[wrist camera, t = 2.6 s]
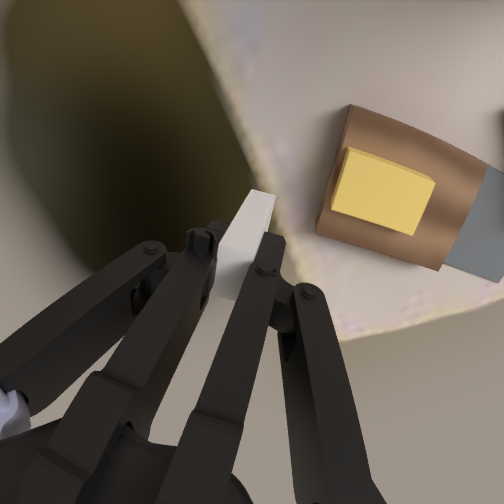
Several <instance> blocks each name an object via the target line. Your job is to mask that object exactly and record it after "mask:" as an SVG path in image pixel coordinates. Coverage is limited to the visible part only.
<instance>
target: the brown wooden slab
mask: <svg viewBox="0 0 504 504" xmlns="http://www.w3.org/2000/svg"><path fill="white" fill-rule="evenodd" d="M348 147H351V148H354V149H357V150H360V151H363V152H366V153H369V154H372V155H375V156H378V157H380V158H383V159H386V160H389V161H391V162H394V163H397V164H399V165H402V166H404V167H407V168H409V169H412V170H414V171H417V172H419V173H422V174H424V175H427V176H429V177H430V178H431V179H432V180H433V181H434V182H435V183H436V184H435V186H434V189H433V191H432V193H431V196H430V198H429V201H428V203H427V205H426V208H425V210H424V212H423V214H422V217H421V219H420V221H419V223H418V226H417V228H416V230H415V232H414V234H413V236H411V235H408V234H406V233H403V232H400V231H397V230H394V229H391V228H388V227H385V226H382V225H379V224H376V223H373V222H370V221H367V220H363V219H360V218H357V217H354V216H351V215H347V214H344V213H341V212H338V211H334V210H331V199H332V196H333V193H334V190H335V187H336V184H337V180H338V177H339V174H340V171H341V168H342V164H343V161H344V158H345V154H346V151H347V148H348ZM487 168H488V165H487V164H485V163H484V162H482V161H481V160H479V159H477V158H476V157H474V156H472V155H470V154H468V153H466V152H465V151H463V150H461V149H459V148H457V147H455V146H453V145H451V144H449V143H447V142H445V141H443V140H441V139H438V138H436V137H434V136H432V135H430V134H428V133H425V132H423V131H421V130H419V129H416V128H414V127H411V126H409V125H407V124H404V123H402V122H399V121H397V120H394V119H392V118H389V117H386V116H384V115H381V114H378V113H375V112H373V111H370V110H367V109H364V108H361V107H358V106H355V105H352V104H350V108H349V112H348V115H347V119H346V122H345V126H344V130H343V133H342V137H341V140H340V144H339V147H338V151H337V154H336V157H335V161H334V164H333V168H332V171H331V174H330V177H329V181H328V184H327V187H326V190H325V194H324V197H323V200H322V203H321V206H320V209H319V212H318V216H317V219H316V224H315V234H318V235H322V236H325V237H329V238H332V239H336V240H339V241H342V242H346V243H349V244H352V245H356V246H359V247H362V248H366V249H369V250H372V251H376V252H379V253H382V254H385V255H388V256H392V257H395V258H398V259H401V260H404V261H407V262H411V263H414V264H417V265H420V266H423V267H426V268H429V269H432V270H435V271H439V269H440V268H441V266H442V264H443V262H444V261H445V259H446V257H447V255H448V253H449V251H450V250H451V248H452V246H453V244H454V242H455V240H456V238H457V236H458V234H459V232H460V230H461V228H462V226H463V224H464V222H465V220H466V218H467V216H468V213H469V211H470V209H471V207H472V205H473V202H474V200H475V198H476V195H477V193H478V191H479V188H480V186H481V183H482V181H483V178H484V176H485V173H486V171H487Z"/></svg>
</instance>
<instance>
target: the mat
mask: <svg viewBox="0 0 504 504" xmlns="http://www.w3.org/2000/svg"><path fill="white" fill-rule="evenodd" d="M482 162H483V161H482ZM484 163H485V162H484ZM485 164H486V163H485ZM487 165H488V164H487ZM443 263H445V264H448V265H450V266H453V267H456V268H459V269H462V270H464V271H467V272H470V273H473V274H475V275H478V276H481V277H483V278H486V279H489V280H491V281H494V282H497V283H499V282H500V280H501V279H502V277H503V275H504V174H503V173H501V172H500V171H498V170H496V169H495V168H493V167H491V166H490V165H488V168H487V171H486V173H485V176H484V178H483V181H482V183H481V186H480V188H479V191H478V193H477V195H476V198H475V200H474V202H473V205H472V207H471V209H470V211H469V213H468V216H467V218H466V220H465V222H464V224H463V226H462V228H461V230H460V232H459V234H458V236H457V238H456V240H455V242H454V244H453V246H452V248H451V250H450V251H449V253H448V255H447V257H446V259H445V261H444V262H443Z"/></svg>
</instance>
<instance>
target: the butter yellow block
mask: <svg viewBox="0 0 504 504" xmlns="http://www.w3.org/2000/svg"><path fill="white" fill-rule="evenodd" d="M435 184H436V183H435V182H434V181H433V180H432V179H431V178H430V177H429V176H427V175H424V174H422V173H419V172H417V171H414V170H412V169H409V168H407V167H404V166H402V165H399V164H397V163H394V162H391V161H389V160H386V159H383V158H380V157H378V156H375V155H372V154H369V153H366V152H363V151H360V150H357V149H354V148H351V147H348V148H347V151H346V154H345V158H344V161H343V164H342V168H341V171H340V174H339V177H338V180H337V184H336V187H335V190H334V193H333V196H332V199H331V210H334V211H338V212H341V213H344V214H347V215H351V216H354V217H357V218H360V219H363V220H367V221H370V222H373V223H376V224H379V225H382V226H385V227H388V228H391V229H394V230H397V231H400V232H403V233H406V234H408V235H411V236H413V234H414V232H415V230H416V228H417V226H418V223H419V221H420V219H421V217H422V214H423V212H424V210H425V208H426V205H427V203H428V201H429V198H430V196H431V193H432V191H433V189H434V186H435Z"/></svg>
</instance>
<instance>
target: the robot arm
mask: <svg viewBox="0 0 504 504" xmlns="http://www.w3.org/2000/svg"><path fill="white" fill-rule="evenodd" d="M275 199H276V195H272V194H268V193H264V192H260V191H257V190H253V189H252V190H251V191H250V193H249V195H248V196H247V198H246V199H245V201H244V203H243V204H242V206H241V208H240V209H239V211H238V213H237V214H236V216H235V218H234V220H233V221H232V223H229V222H225V221H221V220H215V221H213V222H211V223H210V224H209V226H208V227H207V229H205V228H194V229H191V230H189V231H187V234H186V247H185V250H184V251H183V252H166V247H165V245H163V244H162V243H160V242H157V241H145V242H142V243H140V244H139V245H137V246H135V247H134V248H132V249H131V250H129V251H128V252H126V253H125V254H123V255H122V256H120V257H118V258H117V259H115V260H114V261H113V262H111V263H109V264H108V265H106V266H105V267H103V268H102V269H100V270H99V271H98V272H96V273H95V274H93V275H92V276H90V277H89V278H87V279H86V280H84V281H83V282H82V283H80V284H79V285H77V286H76V287H74V288H73V289H72V290H70V291H69V292H67V293H66V294H65V295H63V296H62V297H60V298H59V299H58V300H56V301H55V302H54V303H52V304H51V305H50V306H48V307H47V308H45V309H44V310H43V311H41V312H40V313H39V314H37V315H36V316H35V317H34V318H32V319H31V320H30V321H28V322H27V323H26V324H24V325H23V326H22V327H21V328H19V329H18V330H17V331H15V332H14V333H13V334H12V335H11V336H9V337H8V338H7V339H6V340H4V341H3V342H2V343H0V504H253V502H252V500H251V498H250V496H249V494H248V493H247V491H246V489H245V487H244V486H243V485H242V483H241V482H240V481H239V480H238V479H237V478H236V476H234V475H233V474H232V473H231V472H232V469H233V465H234V462H235V458H236V455H237V451H238V447H239V444H240V440H241V436H242V432H243V427H244V420H245V416H246V412H247V408H248V404H249V401H250V396H251V393H252V389H253V385H254V381H255V377H256V373H257V369H258V365H259V361H260V357H261V353H262V349H263V345H264V341H265V337H266V333H267V328H268V326H270V327H272V328H274V329H276V330H277V331H278V334H277V336H278V343H279V353H280V362H281V369H282V379H283V388H284V397H285V407H286V416H287V426H288V435H289V445H290V455H291V466H292V476H293V486H294V493H295V499H296V503H297V504H387V503H386V502H385V500H384V498H383V497H382V495H381V493H380V492H379V490H378V489H377V487H376V485H375V484H374V482H373V480H372V479H371V474H370V469H369V464H368V459H367V454H366V450H365V445H364V441H363V436H362V432H361V428H360V424H359V419H358V415H357V411H356V407H355V403H354V399H353V395H352V391H351V387H350V383H349V379H348V376H347V372H346V368H345V364H344V361H343V357H342V353H341V350H340V346H339V343H338V339H337V336H336V332H335V329H334V325H333V322H332V318H331V315H330V312H329V308H328V305H327V302H326V299H325V295H324V293H323V292H322V290H321V289H320V288H318V287H317V286H315V285H313V284H310V283H299V284H296V286H293V285H291V284H289V283H288V282H286V281H285V280H284V279H283V278H282V276H281V274H280V268H281V264H282V259H283V254H284V250H285V245H286V241H285V239H284V237H283V236H280V235H276V234H273V233H269V232H267V231H268V227H269V223H270V219H271V215H272V211H273V207H274V203H275ZM211 288H212V294H214V295H218V296H221V297H225V298H228V299H231V300H235V301H236V303H235V305H234V308H233V310H232V313H231V315H230V318H229V321H228V323H227V326H226V329H225V331H224V334H223V336H222V339H221V342H220V344H219V347H218V349H217V352H216V355H215V357H214V360H213V363H212V365H211V368H210V371H209V373H208V376H207V378H206V381H205V383H204V386H203V389H202V391H201V394H200V396H199V399H198V402H197V404H196V407H195V409H194V410H193V411H192V412H191V414H190V416H189V418H188V420H187V423H186V425H185V428H184V431H183V433H182V436H181V438H180V441H179V443H178V446H169V445H162V444H155V443H151V442H149V441H148V437H149V434H150V427H151V424H152V421H153V419H154V417H155V414H156V412H157V410H158V408H159V405H160V403H161V401H162V399H163V397H164V394H165V392H166V390H167V388H168V386H169V384H170V381H171V379H172V377H173V375H174V373H175V371H176V369H177V366H178V364H179V362H180V360H181V358H182V355H183V354H184V351H185V349H186V347H187V345H188V343H189V341H190V338H191V336H192V334H193V332H194V330H195V328H196V326H197V324H198V322H199V319H200V317H201V315H202V313H203V311H204V309H205V307H206V305H207V303H208V300H209V293H210V291H211ZM124 335H125V336H124ZM123 336H124V337H123ZM122 337H123V339H122V341H121V342H120V344H119V345H118V347H117V348H116V350H115V351H114V353H113V354H112V356H111V358H110V359H109V361H108V362H107V364H106V366H105V367H104V368H103V370H101V371H94V372H92V373H91V374H90V375H89V376H88V377H87V378H86V380H85V382H84V383H83V385H82V386H81V388H80V390H79V391H78V393H77V394H76V396H75V398H74V399H73V401H72V403H71V404H70V406H69V408H68V409H67V411H66V413H65V414H64V416H63V418H60V419H58V420H55V421H52V422H50V423H47V424H45V425H42V426H39V427H37V428H34V429H31V430H30V428H31V423H30V417H32V416H34V415H36V414H38V413H39V412H41V411H42V410H43V409H45V408H46V407H47V406H49V405H50V404H51V403H52V402H54V401H55V400H56V399H57V398H58V397H59V396H60V395H61V394H62V393H63V392H64V391H65V390H66V389H67V388H68V387H69V386H70V385H72V384H73V383H74V382H75V381H76V380H77V379H78V378H79V377H80V376H81V375H82V374H83V373H84V372H85V371H86V370H87V369H89V368H90V367H91V366H92V365H93V364H94V363H95V362H96V361H97V360H98V359H99V358H100V357H101V356H103V354H105V353H106V352H107V351H108V350H109V349H110V348H111V347H112V346H113V345H114V344H116V342H118V341H119V340H120V339H121V338H122Z"/></svg>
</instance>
